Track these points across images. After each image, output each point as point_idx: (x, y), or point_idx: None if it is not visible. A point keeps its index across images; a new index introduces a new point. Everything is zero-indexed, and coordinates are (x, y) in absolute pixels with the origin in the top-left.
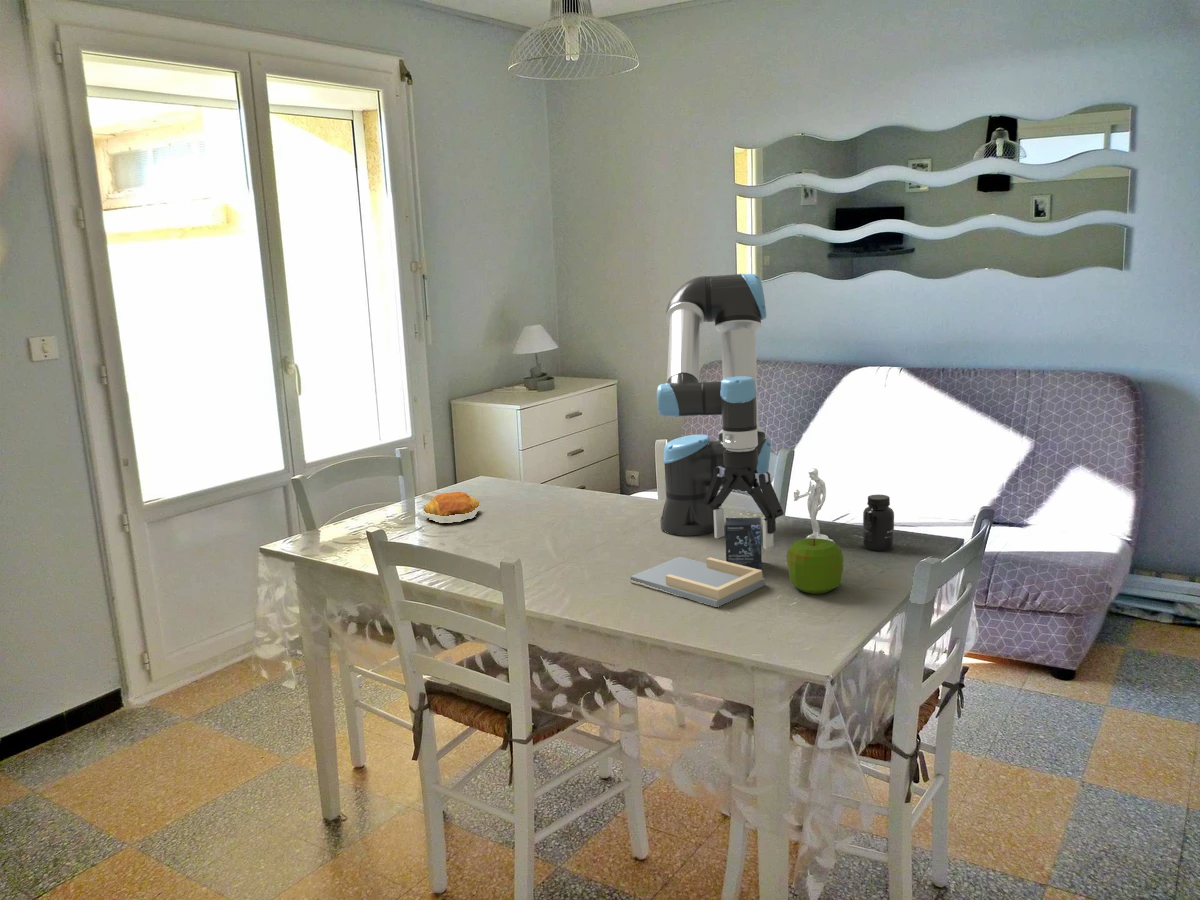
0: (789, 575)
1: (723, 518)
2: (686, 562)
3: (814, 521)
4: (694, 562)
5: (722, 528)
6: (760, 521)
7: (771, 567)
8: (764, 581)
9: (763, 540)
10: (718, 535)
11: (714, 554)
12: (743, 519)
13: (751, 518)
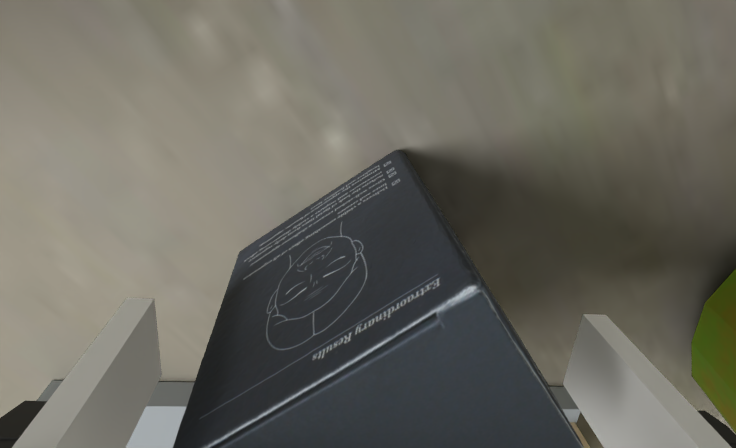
0: (712, 401)
1: (87, 409)
2: (137, 442)
3: None
4: (170, 425)
5: (132, 359)
6: (532, 365)
7: (494, 196)
8: (573, 403)
9: (592, 423)
10: (153, 372)
11: (85, 187)
12: (366, 443)
13: (419, 377)
